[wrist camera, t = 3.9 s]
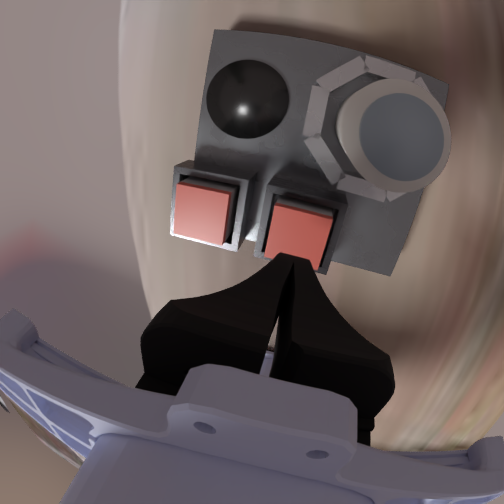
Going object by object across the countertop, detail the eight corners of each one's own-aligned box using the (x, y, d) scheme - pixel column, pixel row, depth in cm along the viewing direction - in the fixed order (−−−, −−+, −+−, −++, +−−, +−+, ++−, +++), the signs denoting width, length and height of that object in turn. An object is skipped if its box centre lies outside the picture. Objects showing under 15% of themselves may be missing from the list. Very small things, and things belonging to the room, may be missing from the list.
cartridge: (399, 174, 15) (438, 211, 10) (327, 153, 16) (331, 177, 10) (416, 104, 13) (467, 103, 7) (343, 80, 14) (357, 60, 8)
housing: (385, 262, 20) (395, 293, 16) (194, 213, 22) (169, 235, 18) (437, 86, 14) (463, 82, 10) (218, 36, 15) (194, 21, 12)
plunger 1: (234, 228, 19) (222, 245, 17) (190, 218, 19) (173, 233, 17) (241, 183, 17) (228, 194, 15) (194, 173, 18) (176, 183, 15)
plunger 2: (318, 250, 18) (317, 270, 16) (271, 238, 18) (263, 256, 16) (331, 204, 17) (332, 219, 14) (281, 192, 17) (274, 205, 15)
